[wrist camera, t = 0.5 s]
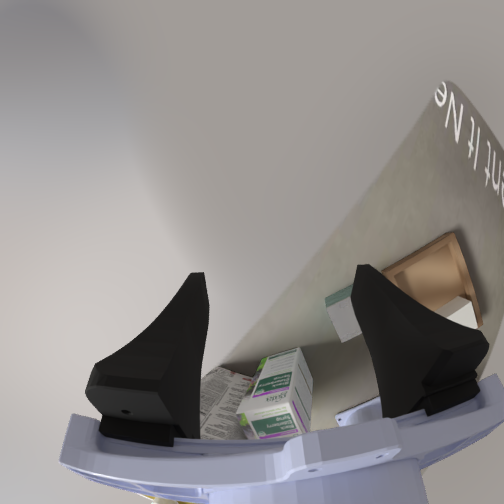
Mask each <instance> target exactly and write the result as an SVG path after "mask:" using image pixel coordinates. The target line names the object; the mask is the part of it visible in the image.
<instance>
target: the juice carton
mask: <svg viewBox="0 0 504 504" xmlns="http://www.w3.org/2000/svg"><path fill="white" fill-rule="evenodd" d="M252 379H253V378H252V377H249V376H245V375H242V374H239V373H236V372H233V371H230V370H228V369H225V368H222V367H216V368H214V369H213V370H212V371H210V372H209V373H208V374H206V375H205V376H204V377H203V378H202V379H201V386H200V438H201V439H205V440H249V439H248V438H247V436H246V434H245V433H244V430H243V428H242V426H241V424H240V422H239V420H238V418H237V416H236V411H237V409H238V407H239V405H240V403H241V401H242V399H243V397H244V395H245V393H246V391H247V389H248V387H249V385H250V383H251V381H252ZM137 494H138V495H141V496H143V497H145V498H147V499H150V500H152V501H153V502H152V504H199V503H190V502H182V501H175V500H169V499H163V498H158V497H153V496H148V495H143V494H139V493H137Z"/></svg>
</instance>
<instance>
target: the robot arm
mask: <svg viewBox="0 0 504 504" xmlns="http://www.w3.org/2000/svg"><path fill="white" fill-rule="evenodd" d="M350 298H351V302H352V306H353V310H354V314H355V317H356V319H357V322H358V324H359V326H360V329H361V331H362V334H363V336H364V339H365V341H366V344H367V346H368V349H369V351H370V354H371V357H372V361H373V365H374V369H375V373H376V378H377V383H378V388H379V394H380V396H378V397H376V398H374V399H372V400H370V401H367V402H365V403H363V404H361V405H358V406H356V407H353V408H351V409H349V410H346V411H344V412H341V413H338V414H336V416H335V418H336V420H337V422H338V424H339V426H340V427H336V428H330V429H323V430H316V431H312V432H307V433H302V434H300V435H297V436H294V437H284V438H271V439H251V440H205V439H201V438H200V386H201V368H202V360H203V354H204V348H205V342H206V336H207V331H208V324H209V300H208V294H207V288H206V281H205V275H204V272H199V273H190V275H189V276H188V277H187V279H186V280H185V282H184V283H183V285H182V286H181V288H180V289H179V291H178V292H177V293H176V295H175V296H174V297H173V299H172V300H171V301H170V303H169V304H168V305H167V306H166V307H165V309H164V310H163V311H162V312H161V313H160V315H159V316H158V317H157V318H156V319H155V320H154V321H153V322H152V323H151V324H150V325H149V326H148V327H147V328H146V329H145V330H144V331H143V332H142V333H140V334H139V335H138V336H137V337H136V338H134V339H133V340H132V341H131V342H130V343H128V344H127V345H125V346H124V347H122V348H121V349H119V350H118V351H116V352H115V353H113V354H112V355H110V356H108V357H106V358H105V359H103V360H101V361H99V362H97V363H95V365H94V368H93V370H92V372H91V375H90V378H89V381H88V384H87V387H86V390H85V394H86V396H87V398H88V400H89V401H90V402H91V403H92V404H93V406H95V408H96V409H97V410H98V411H99V412H100V413H101V414H102V419H101V422H100V421H99V420H96V419H94V418H90V417H86V416H81V415H77V414H71V418H70V421H69V425H68V428H67V431H66V435H65V439H64V442H63V446H62V450H61V454H60V458H59V463H60V464H61V465H63V466H64V467H66V468H68V469H69V470H71V471H73V472H75V473H77V474H78V475H80V476H82V477H84V478H86V479H88V480H90V481H94V482H97V483H100V484H104V485H107V486H111V487H115V488H118V489H122V490H126V491H130V492H134V493H139V494H143V495H148V496H153V497H158V498H163V499H169V500H175V501H182V502H190V503H199V504H429V503H428V499H427V495H426V491H425V487H424V483H423V479H422V475H421V472H420V470H421V469H423V468H426V467H428V466H430V465H432V464H434V463H437V462H439V461H441V460H443V459H445V458H447V457H449V456H451V455H453V454H455V453H456V452H458V451H460V450H462V449H464V448H466V447H468V446H469V445H471V444H473V443H475V442H477V441H478V440H480V439H482V438H484V437H485V436H487V435H488V434H489V433H491V432H492V431H493V430H494V429H495V428H497V427H498V426H499V425H500V424H501V423H503V422H504V388H503V385H502V383H501V381H500V380H499V378H498V376H497V374H493V375H491V376H489V377H487V378H485V379H482V380H481V381H479V382H478V383H477V382H476V380H475V378H476V377H477V373H476V371H475V369H476V368H477V366H478V365H479V364H480V363H481V361H482V360H483V359H484V357H485V356H486V354H487V352H488V349H489V343H488V342H487V340H486V338H485V337H484V335H483V333H482V332H481V331H479V330H476V329H473V328H470V327H467V326H464V325H461V324H459V323H456V322H454V321H452V320H449V319H447V318H445V317H443V316H441V315H439V314H437V313H435V312H434V311H432V310H430V309H428V308H427V307H425V306H424V305H422V304H420V303H419V302H417V301H416V300H414V299H413V298H412V297H410V296H409V295H407V294H406V293H405V292H403V291H402V290H401V289H400V288H398V287H397V286H396V285H395V284H393V283H392V282H391V281H390V280H388V279H387V278H386V277H385V276H383V275H382V274H381V273H380V272H379V271H377V270H376V269H375V268H373V267H372V266H371V265H369V264H365V265H357V270H356V274H355V279H354V283H353V288H352V292H351V296H350ZM339 418H341V419H340V420H339Z"/></svg>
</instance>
